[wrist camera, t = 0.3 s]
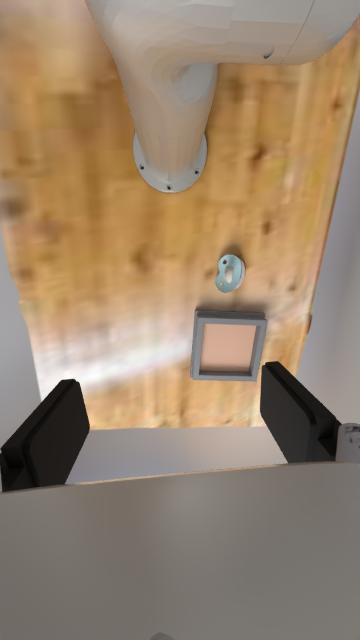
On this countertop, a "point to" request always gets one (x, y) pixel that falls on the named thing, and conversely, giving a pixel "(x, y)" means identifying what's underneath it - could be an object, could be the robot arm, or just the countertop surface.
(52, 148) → the countertop surface
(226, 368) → the holder
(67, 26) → the countertop surface
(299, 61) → the robot arm
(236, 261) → the pacifier
